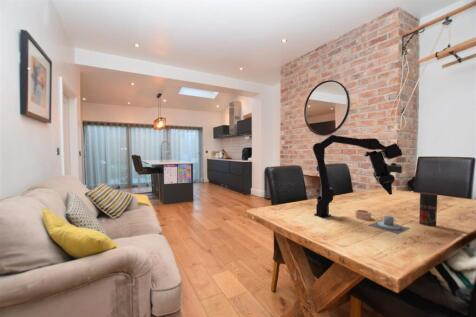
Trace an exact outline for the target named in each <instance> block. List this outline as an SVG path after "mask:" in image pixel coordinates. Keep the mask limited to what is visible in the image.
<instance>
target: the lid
mask: <svg viewBox="0 0 476 317" xmlns="http://www.w3.org/2000/svg"><path fill="white" fill-rule="evenodd" d="M379 221H380V222H378V221H376V222H377V225H378V226H379V227H381V228H384V229H388V230H400V226H401V225H400V224H398V223H395V222H394V217H393V216H390V215H384V216H383V220H379Z"/></svg>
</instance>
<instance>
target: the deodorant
mask: <svg viewBox="0 0 476 317" xmlns="http://www.w3.org/2000/svg"><path fill="white" fill-rule="evenodd" d="M437 213H438V194H437V193H434V192H433V193H432V192H420V193H419V217H418V218H419V219H418V222H419V224H420V225H422V226H427V227H437V218H438V217H437Z"/></svg>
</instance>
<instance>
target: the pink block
mask: <svg viewBox="0 0 476 317" xmlns="http://www.w3.org/2000/svg"><path fill="white" fill-rule="evenodd" d="M354 217H355V219H358V220H362V221H370V220H372V212H371V211H369V210H365V209H356V210H354Z"/></svg>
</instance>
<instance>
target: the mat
mask: <svg viewBox="0 0 476 317" xmlns="http://www.w3.org/2000/svg"><path fill="white" fill-rule="evenodd" d="M380 221H381V220H378V221H376V222H372V223H370V224H368V225H367V226H369V227H372V228H375V229H379V230H382V231H386V232H389V233H392V234H396V235H399V234H401V233H404V232H405V231H408V230H410V229H411V227H407V226H403V225H400V230H388V229H384V228H381V227H379V226H378V225H377V222H380Z"/></svg>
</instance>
